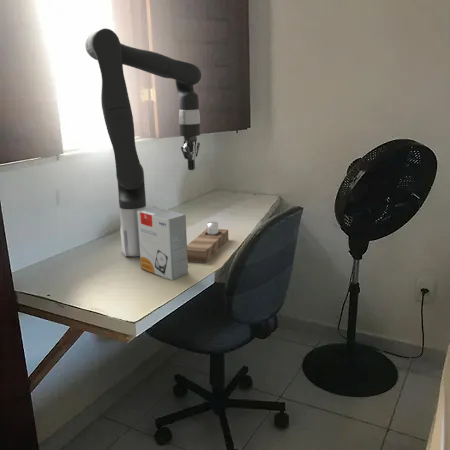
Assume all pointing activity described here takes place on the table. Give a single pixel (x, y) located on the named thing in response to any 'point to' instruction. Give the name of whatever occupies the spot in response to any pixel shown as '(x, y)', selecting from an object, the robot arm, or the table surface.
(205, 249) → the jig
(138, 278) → the table surface
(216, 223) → the brushed metal cylinder
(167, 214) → the hard drive box
